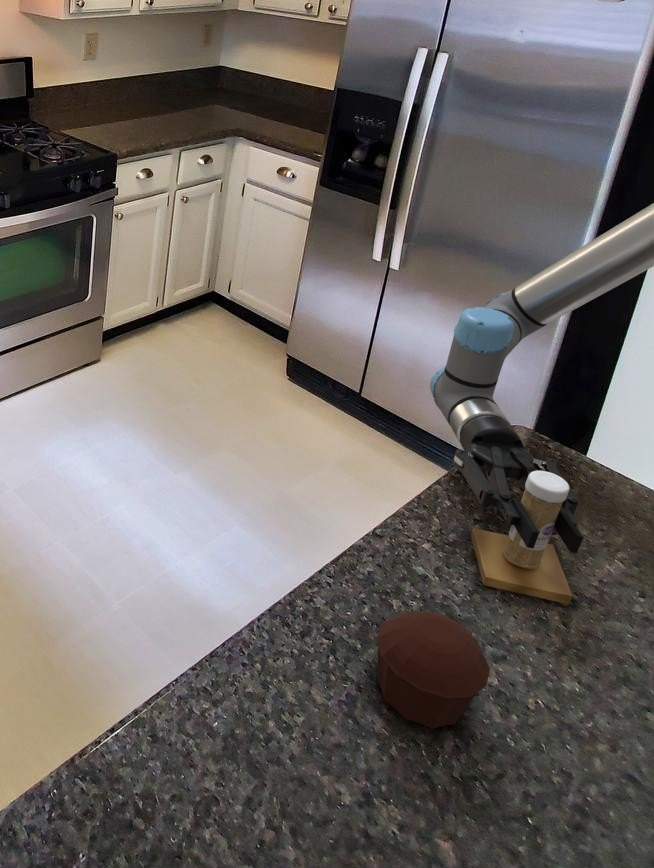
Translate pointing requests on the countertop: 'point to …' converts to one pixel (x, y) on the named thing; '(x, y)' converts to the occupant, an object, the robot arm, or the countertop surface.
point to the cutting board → (519, 569)
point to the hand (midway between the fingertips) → (554, 542)
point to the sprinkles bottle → (537, 517)
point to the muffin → (429, 667)
